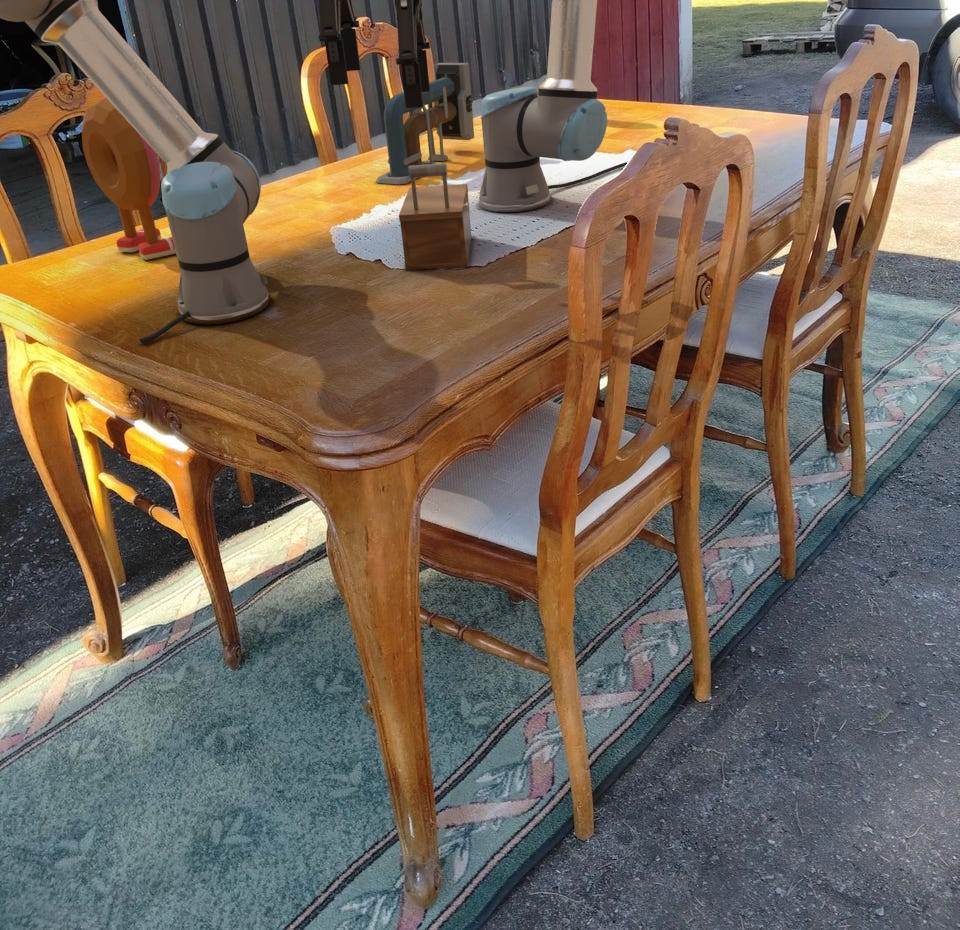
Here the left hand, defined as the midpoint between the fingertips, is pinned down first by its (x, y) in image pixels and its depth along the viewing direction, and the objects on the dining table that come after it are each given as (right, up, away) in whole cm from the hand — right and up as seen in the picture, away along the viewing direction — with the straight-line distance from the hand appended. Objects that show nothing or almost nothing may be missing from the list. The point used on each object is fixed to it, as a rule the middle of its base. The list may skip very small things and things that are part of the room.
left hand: (346, 77), depth 160 cm
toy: (-45, -20, +39) cm, 63 cm away
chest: (+15, -24, +24) cm, 37 cm away
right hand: (+12, -4, 0) cm, 12 cm away
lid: (+14, -16, +19) cm, 28 cm away
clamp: (+9, +11, +84) cm, 85 cm away
